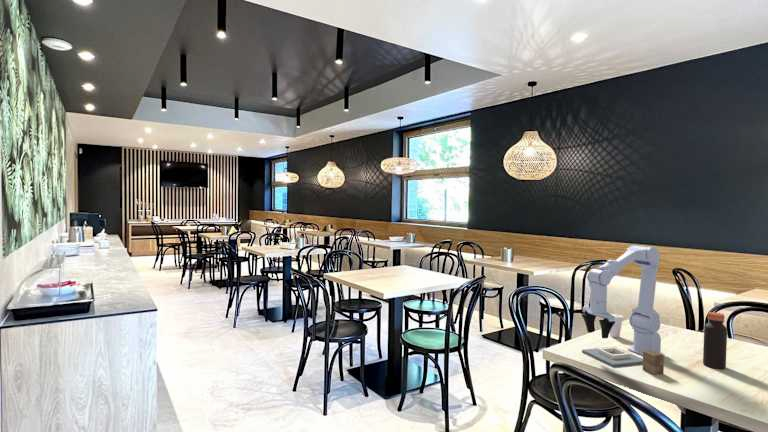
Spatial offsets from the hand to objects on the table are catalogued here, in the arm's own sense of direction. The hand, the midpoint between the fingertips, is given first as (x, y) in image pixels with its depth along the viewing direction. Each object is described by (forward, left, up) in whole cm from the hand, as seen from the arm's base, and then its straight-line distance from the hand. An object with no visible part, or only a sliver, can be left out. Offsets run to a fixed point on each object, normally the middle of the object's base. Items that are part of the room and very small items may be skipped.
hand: (597, 334), depth 161 cm
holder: (-9, -1, -10) cm, 13 cm away
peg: (-12, +14, -10) cm, 21 cm away
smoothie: (-31, -23, -10) cm, 39 cm away
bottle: (-40, +15, -10) cm, 44 cm away
